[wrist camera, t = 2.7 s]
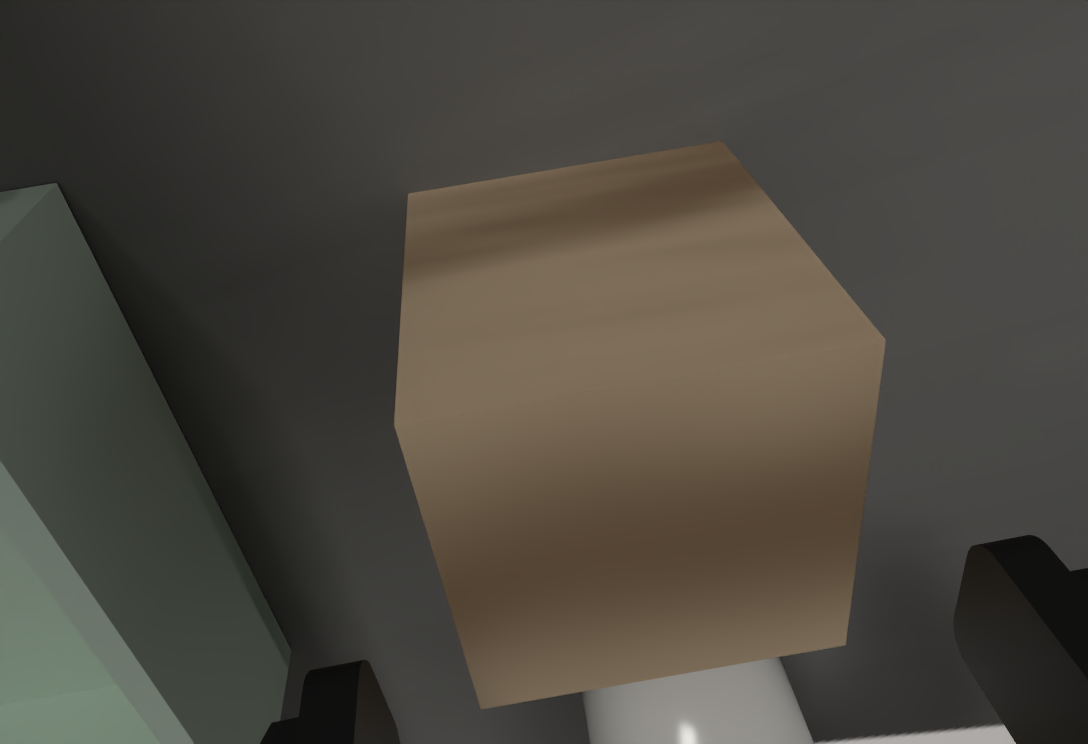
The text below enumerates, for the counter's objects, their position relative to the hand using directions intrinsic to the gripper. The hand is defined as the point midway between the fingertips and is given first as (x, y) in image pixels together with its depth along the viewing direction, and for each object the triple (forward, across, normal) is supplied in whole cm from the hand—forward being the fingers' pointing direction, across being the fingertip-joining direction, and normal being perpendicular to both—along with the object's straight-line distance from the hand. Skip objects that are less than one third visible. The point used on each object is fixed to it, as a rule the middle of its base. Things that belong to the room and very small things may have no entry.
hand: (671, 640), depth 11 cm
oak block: (+8, 0, -1) cm, 8 cm away
